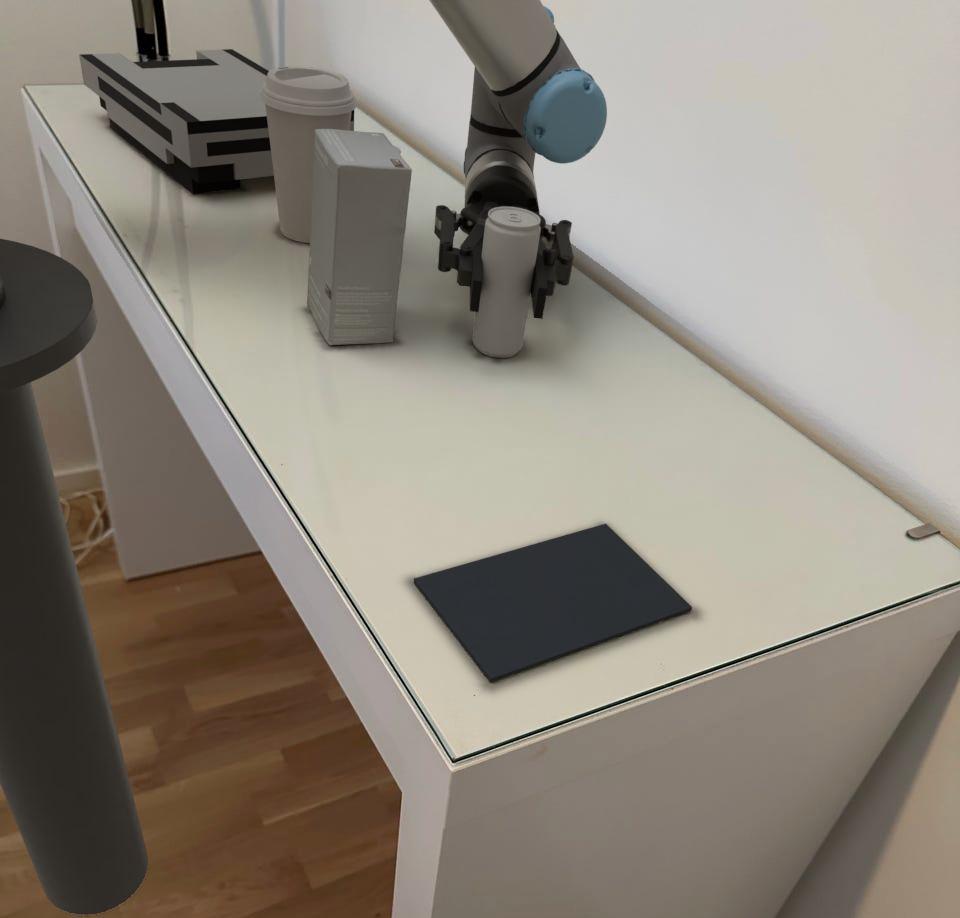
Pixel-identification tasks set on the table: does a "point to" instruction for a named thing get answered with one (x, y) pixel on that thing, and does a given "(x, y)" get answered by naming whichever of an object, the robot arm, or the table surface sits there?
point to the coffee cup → (301, 135)
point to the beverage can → (506, 280)
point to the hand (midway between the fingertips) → (508, 299)
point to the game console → (189, 114)
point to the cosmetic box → (356, 235)
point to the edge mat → (549, 600)
